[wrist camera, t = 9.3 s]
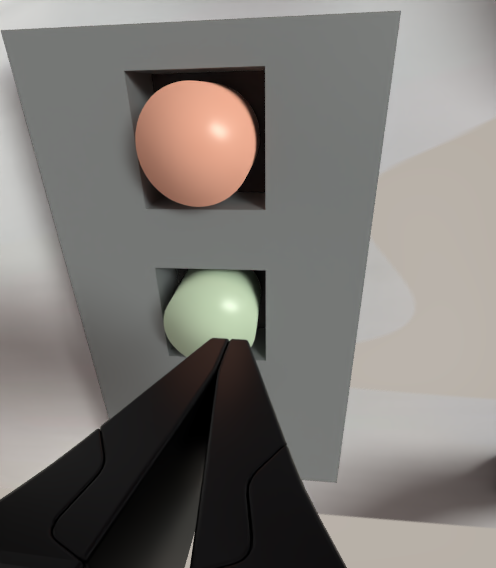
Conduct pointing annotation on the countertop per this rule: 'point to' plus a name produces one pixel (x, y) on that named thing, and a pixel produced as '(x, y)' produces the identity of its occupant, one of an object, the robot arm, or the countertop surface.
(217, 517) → the robot arm
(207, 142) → the coral button
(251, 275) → the sage button
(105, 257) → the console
